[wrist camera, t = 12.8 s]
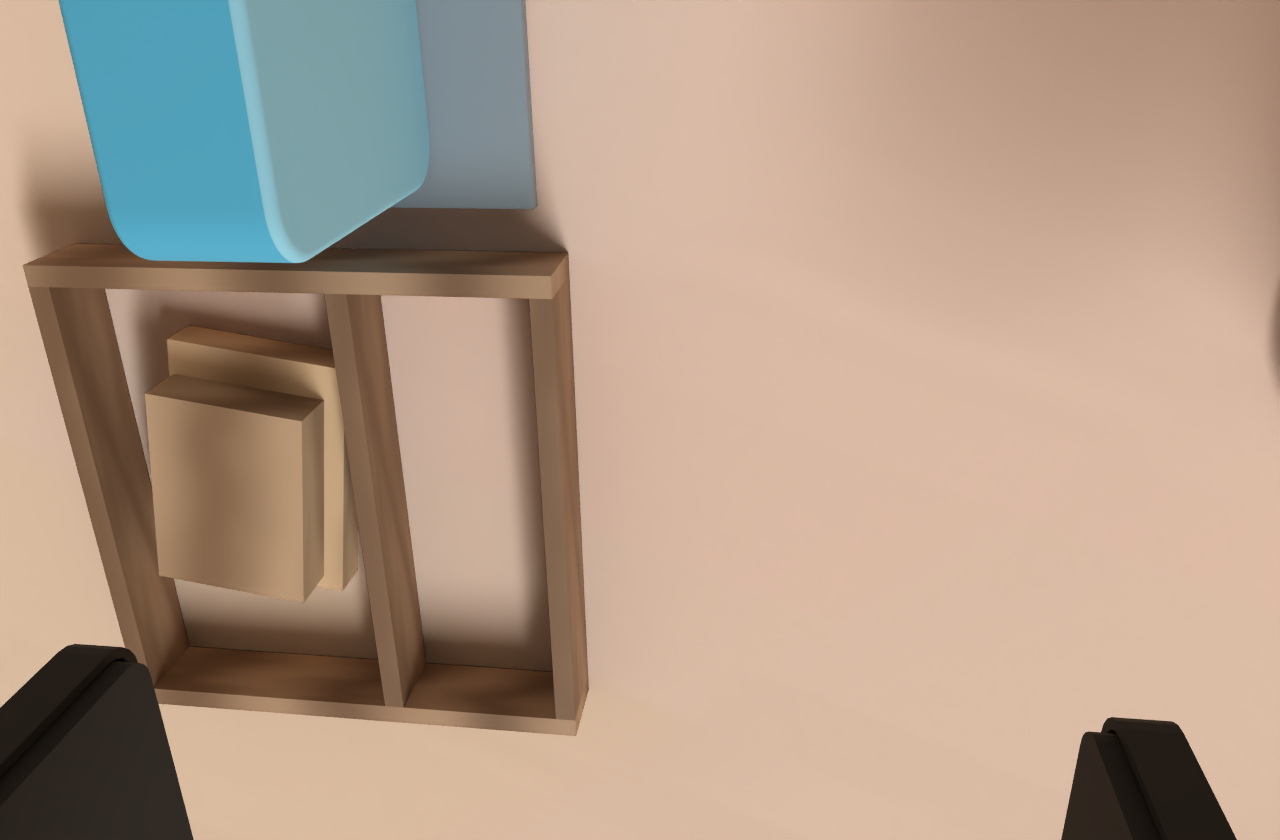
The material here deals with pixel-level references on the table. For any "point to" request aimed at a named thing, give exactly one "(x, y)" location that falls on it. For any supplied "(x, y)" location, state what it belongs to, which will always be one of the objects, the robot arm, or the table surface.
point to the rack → (352, 295)
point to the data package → (249, 120)
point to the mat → (476, 106)
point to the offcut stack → (251, 466)
